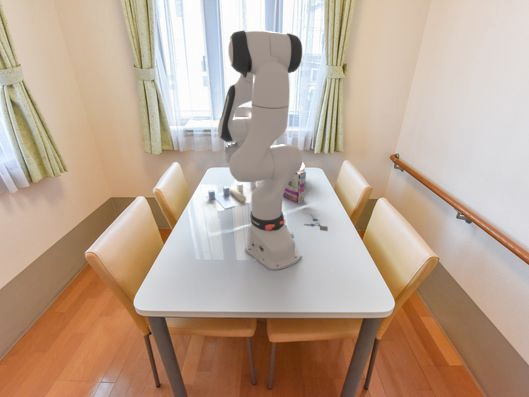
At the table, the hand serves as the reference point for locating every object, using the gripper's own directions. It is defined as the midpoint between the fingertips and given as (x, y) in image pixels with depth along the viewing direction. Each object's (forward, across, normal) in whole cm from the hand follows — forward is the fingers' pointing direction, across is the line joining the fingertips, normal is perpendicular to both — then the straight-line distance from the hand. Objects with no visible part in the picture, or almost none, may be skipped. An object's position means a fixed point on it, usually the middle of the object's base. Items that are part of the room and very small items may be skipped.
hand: (245, 168), depth 132 cm
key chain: (+17, +14, -38) cm, 44 cm away
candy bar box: (+16, +19, -15) cm, 29 cm away
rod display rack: (+16, -5, +1) cm, 17 cm away
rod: (+15, -5, +1) cm, 16 cm away
